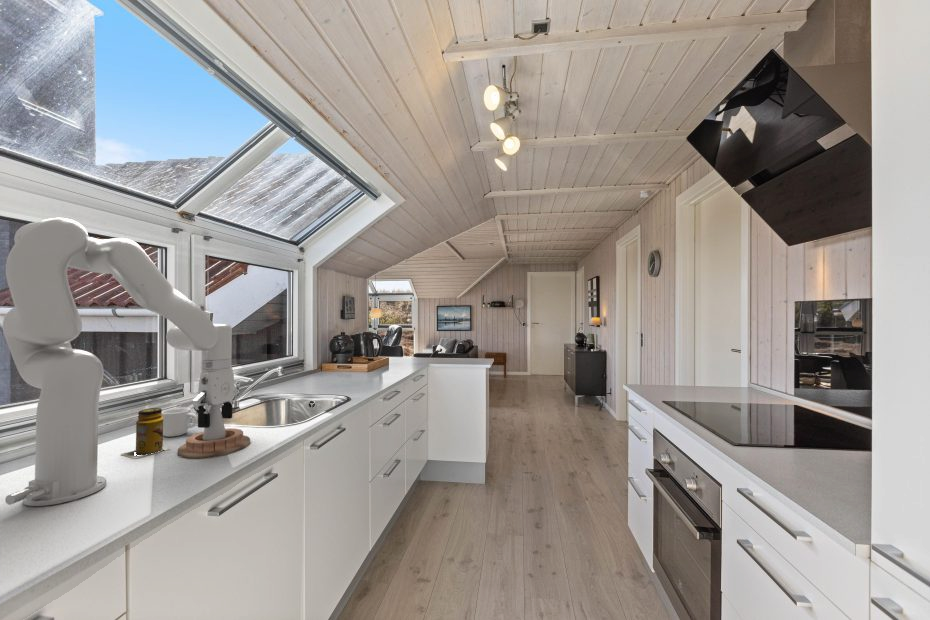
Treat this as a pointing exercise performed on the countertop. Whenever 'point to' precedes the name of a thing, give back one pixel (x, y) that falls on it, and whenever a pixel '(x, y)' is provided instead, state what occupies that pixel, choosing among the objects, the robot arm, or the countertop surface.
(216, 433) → the salt shaker
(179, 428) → the cup
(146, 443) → the condiment
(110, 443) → the countertop surface
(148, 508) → the countertop surface
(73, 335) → the robot arm
